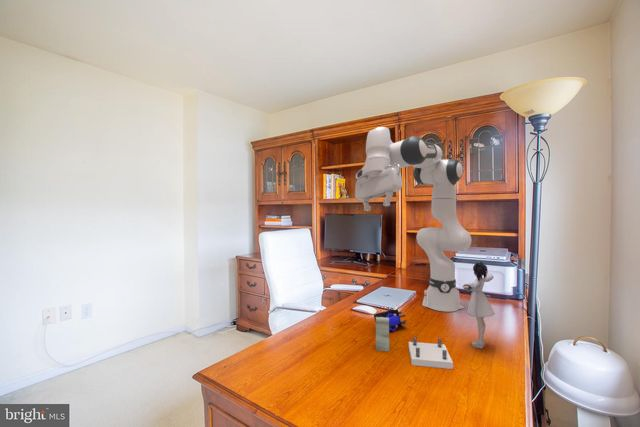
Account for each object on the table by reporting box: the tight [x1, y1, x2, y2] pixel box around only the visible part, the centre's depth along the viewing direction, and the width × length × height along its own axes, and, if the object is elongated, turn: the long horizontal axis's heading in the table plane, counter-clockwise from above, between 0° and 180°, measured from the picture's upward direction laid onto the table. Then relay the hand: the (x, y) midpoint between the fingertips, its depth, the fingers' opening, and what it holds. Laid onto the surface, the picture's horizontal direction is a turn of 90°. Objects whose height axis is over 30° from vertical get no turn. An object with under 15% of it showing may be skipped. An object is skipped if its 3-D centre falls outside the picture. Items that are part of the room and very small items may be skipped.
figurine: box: [461, 261, 496, 349], centre depth 104 cm, size 25×8×30 cm, turn 135°
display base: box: [408, 336, 454, 370], centre depth 98 cm, size 12×12×4 cm
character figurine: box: [373, 309, 408, 333], centre depth 120 cm, size 8×7×15 cm
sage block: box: [375, 317, 390, 352], centre depth 105 cm, size 4×4×10 cm
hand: (376, 208), depth 102 cm, fingers open, 8 cm apart
